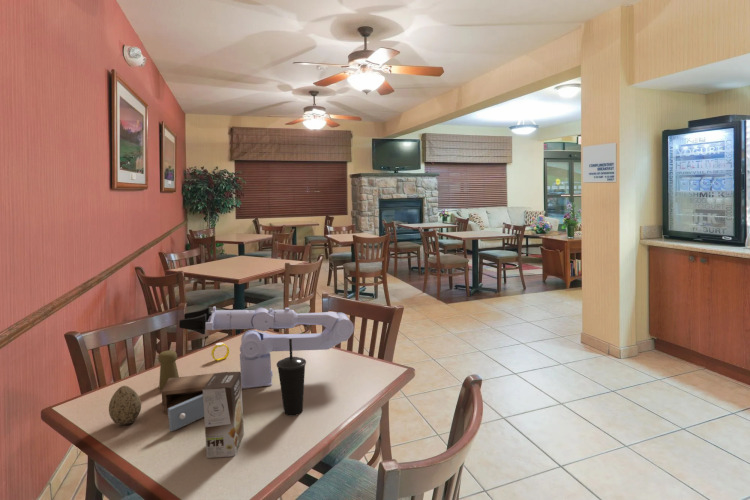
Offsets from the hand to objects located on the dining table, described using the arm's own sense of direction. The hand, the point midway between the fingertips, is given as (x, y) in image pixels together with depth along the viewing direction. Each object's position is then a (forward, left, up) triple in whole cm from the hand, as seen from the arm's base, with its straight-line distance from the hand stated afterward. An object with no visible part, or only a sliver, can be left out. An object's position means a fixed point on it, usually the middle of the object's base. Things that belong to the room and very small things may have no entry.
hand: (182, 320), depth 125 cm
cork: (+6, -5, -22) cm, 23 cm away
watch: (-7, -24, -22) cm, 33 cm away
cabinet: (-4, +8, -22) cm, 24 cm away
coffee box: (-14, +34, -22) cm, 43 cm away
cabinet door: (-7, +19, -21) cm, 29 cm away
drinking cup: (-30, +22, -22) cm, 43 cm away
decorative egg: (+12, +16, -22) cm, 30 cm away
